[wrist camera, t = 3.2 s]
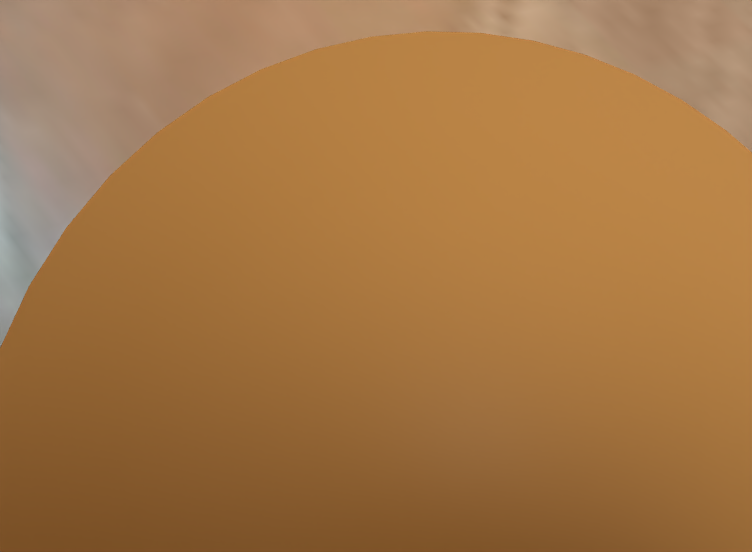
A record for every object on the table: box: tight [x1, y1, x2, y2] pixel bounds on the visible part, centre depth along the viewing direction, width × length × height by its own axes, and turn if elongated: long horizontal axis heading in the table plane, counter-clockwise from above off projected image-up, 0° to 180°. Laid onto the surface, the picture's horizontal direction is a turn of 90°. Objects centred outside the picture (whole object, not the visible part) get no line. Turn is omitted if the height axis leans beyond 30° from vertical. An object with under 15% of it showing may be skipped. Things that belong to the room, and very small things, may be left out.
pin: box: [0, 32, 752, 552], centre depth 9 cm, size 4×4×13 cm
